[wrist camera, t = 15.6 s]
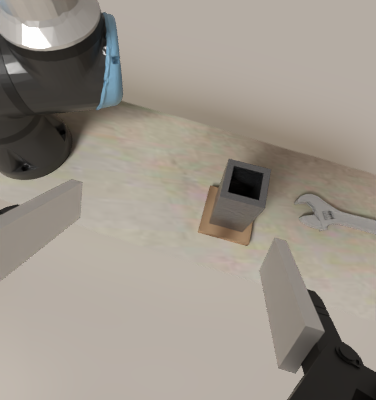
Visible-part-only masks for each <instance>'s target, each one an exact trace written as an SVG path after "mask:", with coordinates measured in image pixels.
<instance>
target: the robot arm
mask: <svg viewBox="0 0 376 400" xmlns="http://www.w3.org/2000/svg"><path fill="white" fill-rule="evenodd" d="M119 59H120V56H119V46H118V36H117V29H116V22H115V18H114V17H113V15H111V14H107V13H105V12H104V13H101V10H100V6H99V3H98V1H97V0H0V172H1V173H2V174H3V175H5V176H7V177H10V178H13V179H19V180H29V179H35V178H39V177H42V176H45V175H47V174H49V173H51V172H52V171H54V170H55V169H57V168H58V167H59V166H60V165H61V164H62V163H63V162H64V161H65V160H66V158H67V157H68V155H69V153H70V150H71V146H72V137H71V133H70V131H69V129H68V128H67V126H66V125H65V123H64V122H63V120H62V119H61V118H60V117H59V116H57V115H56V114H55V113H65V112H76V111H86V110H99V109H101V108H105V107H111V106H116V105H118V104H119V103H120V102H121V100H122V97H123V88H122V75H121V65H120V60H119ZM81 197H82V182H80V181H76V180H73V179H71V180H69V181H67V182H65V183H63V184H61V185H59V186H57V187H55V188H53V189H51V190H49V191H47V192H45V193H43V194H41V195H39V196H37V197H35V198H33V199H31V200H29V201H27V202H25V203H23V204H21V205H18V204H17V205H13V206H9V207H6V208H3V209H1V210H0V281H1V280H3V279H4V278H5V277H6V276H8V275H9V274H10V273H11V272H12V271H14V270H15V269H16V268H18V267H19V266H20V265H21V264H22V263H24V262H25V261H26V260H28V259H29V258H30V257H31V256H33V255H34V254H35V253H36V252H38V251H39V250H40V249H41V248H43V247H44V246H45V245H46V244H48V243H49V242H50V241H51V240H53V239H54V238H55V237H56V236H58V235H59V234H60V233H61V232H63V231H64V230H65V229H67V228H68V227H69V226H70V225H72V224H73V223H74V222H75V221H77V220H78V219H79V218H80V212H81ZM259 271H260V276H261V281H262V286H263V291H264V296H265V302H266V307H267V312H268V317H269V322H270V328H271V333H272V338H273V343H274V348H275V353H276V359H277V364H278V368H279V369H282V370H286V371H289V372H292V373H296V372H297V371H298V369H299V368H300V366H301V365H302V368H303V372H304V376H303V378H302V379H301V380H300V382H299V383H298V384H297V386H296V387H295V389H294V391H293V392H292V394H291V395H290V396H289V398H288V399H287V400H376V372H374V371H373V370H371V369H369V368H367V367H366V366H364V365H363V362H362V360H361V358H360V357H359V355H358V354H357V353H356V352H355V351H354V350H353V349H352V348H351V347H350V346H348V345H347V344H345V343H344V342H342V341H341V339H340V336H339V334H338V332H337V331H336V328H335V326H334V324H333V322H332V320H331V318H330V317H329V313H328V311H327V310H326V307H325V305H324V303H323V301H322V299H321V298H320V297H319V296H318V295H317V294H316V292H315V291H311V290H308V289H307V288H306V286H305V284H304V281H303V279H302V277H301V274H300V272H299V270H298V267H297V265H296V263H295V260H294V258H293V256H292V253H291V251H290V249H289V246H288V244H287V241H285V240H281V239H278V238H274V240H273V242H272V244H271V246H270V249H269V251H268V253H267V255H266V257H265V259H264V262H263V264H262V266H261V268H260V270H259Z"/></svg>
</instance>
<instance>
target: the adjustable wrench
mask: <svg viewBox="0 0 376 400" xmlns="http://www.w3.org/2000/svg"><path fill="white" fill-rule="evenodd" d="M303 203H306V204H307V205H308V206H309V207H310V208H311V209H312V211H313V215H307V216H302V217H300V218H299V219H300V221H301V222H302V223H304V224H305V225H307V226H309V227H312V228H316V229H319V231H322V230H327V226H328V225H331V224H339V225H343V226H347V227H350V228H354V229H358V230H361V231H365V232H368V233H372V234H376V220H372V219H368V218H364V217H360V216H356V215H352V214H348V213H344V212H341V211H339V210H337V209H335V208H334V207H332V206H331V205H329V204H328V203H326V202H325V201H324V200H322V199H321V198H320V197H318V196H316V195H313V194H305V195H302V196H300V197H299V198H298V199H297V200H296V201H295V204H303Z"/></svg>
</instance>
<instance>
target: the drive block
mask: <svg viewBox="0 0 376 400" xmlns="http://www.w3.org/2000/svg"><path fill="white" fill-rule="evenodd" d="M217 191H218V187H214V186H210V188H209V192H208V196H207V200H206V203H205V207H204V211H203V215H202V219H201V223H200V226H199V230H198V232H199V233H202V234H206V235H210V236H213V237H217V238H220V239H224V240H228V241H231V242H235V243H238V244H242V245H245V246H247V245H248V244H249V241H250V236H251V230H252V224H253V221H252V222H251V224H250V225H249V226H248V227H247V228H246V229H245V230H244V231H243V232H239V231H236V230H232V229H228V228H224V227H221V226H217V225H213V224H210V223H209V221H210V217H211V213H212V209H213V205H214V201H215V197H216V193H217Z"/></svg>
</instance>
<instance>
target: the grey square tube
mask: <svg viewBox="0 0 376 400" xmlns="http://www.w3.org/2000/svg"><path fill="white" fill-rule="evenodd" d="M270 173H271V169H267V168H263V167H259V166H255V165H251V164H247V163H244V162H240V161H236V160H232V159H229V160H228V163H227V165H226V168H225V171H224V174H223V177H222V179H221V182H220V185H219V188H218V191H217V193H216V197H215V201H214V205H213V209H212V213H211V217H210V221H209V223H210V224H213V225H217V226H221V227H224V228H228V229H232V230H236V231H239V232H243V231H244V230H245V229H246V228H247V227H248V226H249V225H250V224H251V222H252V221H253V220H254V219H255V218H256V217H257V216H258V215H259V214H260V213H261V212H262V211H263V210H264V209H265V204H266V198H267V192H268V185H269V179H270Z"/></svg>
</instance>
